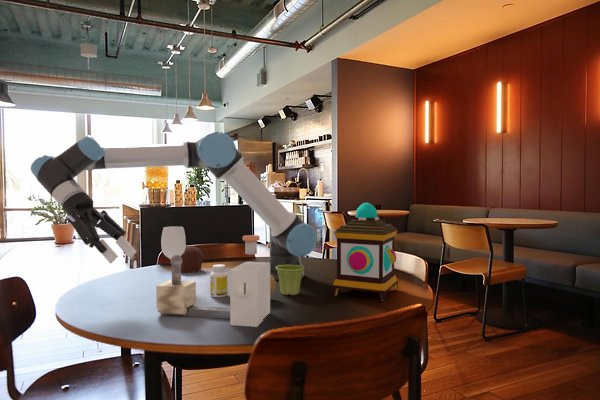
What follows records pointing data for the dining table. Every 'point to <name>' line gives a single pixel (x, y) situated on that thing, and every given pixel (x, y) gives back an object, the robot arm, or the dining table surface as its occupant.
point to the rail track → (206, 312)
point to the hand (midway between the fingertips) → (123, 257)
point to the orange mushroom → (250, 244)
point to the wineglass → (173, 241)
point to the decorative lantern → (366, 253)
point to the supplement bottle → (218, 281)
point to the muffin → (191, 260)
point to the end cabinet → (249, 293)
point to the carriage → (175, 291)
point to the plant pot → (289, 278)
